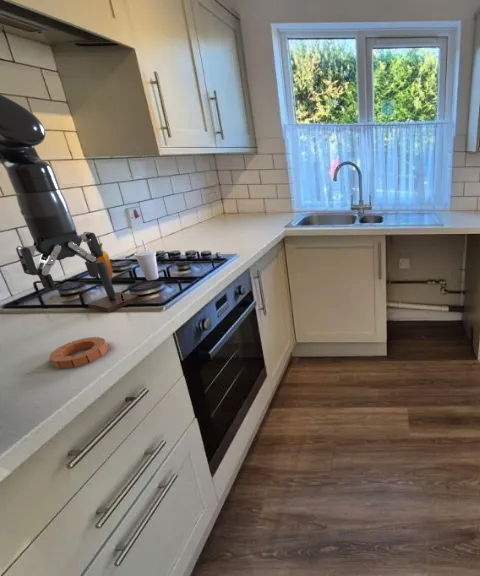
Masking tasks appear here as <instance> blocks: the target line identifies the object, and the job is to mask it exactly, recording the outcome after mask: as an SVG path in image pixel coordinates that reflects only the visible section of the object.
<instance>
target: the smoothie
mask: <svg viewBox="0 0 480 576" xmlns="http://www.w3.org/2000/svg"><path fill="white" fill-rule="evenodd" d="M141 241H142V246H143V248H144V250H141V251H138V252H135V253H134V258H135V259H136V260H137V263H138V264H139V267H140V269H141V271H142V273H143V276H144V278H145V280H146V281H155V280H157V279H159V278H160V277H159V270H158V264H157V256H156V255H157V252H156V250H153V249H148V248H147V246H146V243H145V240H144V239H142V240H141Z"/></svg>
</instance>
